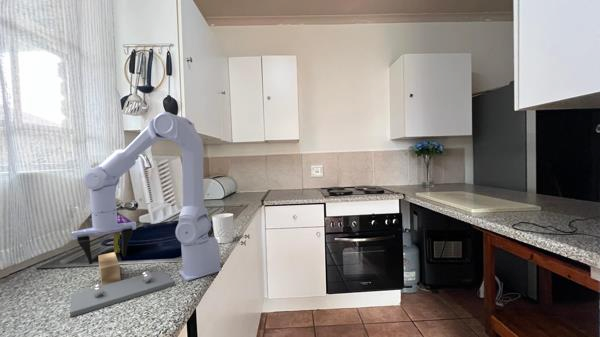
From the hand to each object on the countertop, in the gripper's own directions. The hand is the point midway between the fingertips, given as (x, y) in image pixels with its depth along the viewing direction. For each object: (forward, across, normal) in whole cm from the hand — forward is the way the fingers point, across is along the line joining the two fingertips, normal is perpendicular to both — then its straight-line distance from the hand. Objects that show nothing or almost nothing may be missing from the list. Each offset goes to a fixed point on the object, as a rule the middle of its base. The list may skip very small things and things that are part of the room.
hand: (107, 259), depth 77 cm
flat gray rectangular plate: (+5, -2, +15) cm, 16 cm away
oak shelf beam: (+5, 0, 0) cm, 5 cm away
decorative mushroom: (+5, -4, -23) cm, 24 cm away
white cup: (+5, -37, -7) cm, 38 cm away
